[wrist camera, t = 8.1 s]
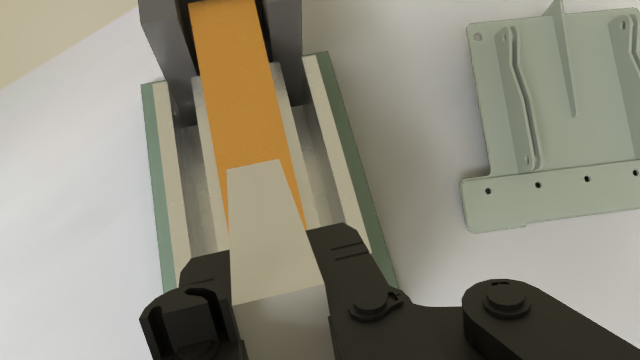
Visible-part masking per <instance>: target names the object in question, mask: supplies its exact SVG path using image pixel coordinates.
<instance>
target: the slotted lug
mask: <svg viewBox="0 0 640 360" xmlns="http://www.w3.org/2000/svg"><path fill="white" fill-rule="evenodd" d="M200 1H206V0H138V5H139V14H140V22H141V26H142V28H143V30H144V32H145V35H146V37H147V39H148V41H149V44H150V46H151V48H152V50H153V52H154V55H155V57H156V59H157V61H158V64H159V66H160V68H161V70H162V72H163V75H164V77H165V79H166V81H167V82H168V84H169V86H170V89H171V91H172V93H173V95H174V98H175V100H176V102H177V104H178V106H179V109H180V111H181V113H182V115H183V118H184V120H185V122H186V124H187V127H190V126H195V125H198V121H197V115H196V108H195V102H194V96H193V89H192V83H191V77H195V76H200V70H199V65H198V59H197V53H196V48H195V42H194V36H193V31H192V25H191V19H190V14H189V8H188V3H194V2H200ZM254 1H255V5H256V10H257V14H258V18H259V23H260V27H261V31H262V36H263V40H264V44H265V49H266V53H267V57H268V62H269V63H273V62H278V61H279V62H280V66H281V70H282V74H283V78H284V82H285V86H286V90H287V94H288V98H289V102H290V106H291V107H295V106H300V105H302V60H301V57H302V8H301V0H254Z"/></svg>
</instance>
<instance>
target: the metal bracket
mask: <svg viewBox="0 0 640 360" xmlns="http://www.w3.org/2000/svg"><path fill="white" fill-rule="evenodd" d="M466 32H467V37H468V43H469V49H470V55H471V61H472V66H473V72H474V78H475V84H476V90H477V95H478V101H479V107H480V113H481V119H482V124H483V130H484V136H485V142H486V147H487V153H488V159H489V165H490V173H489V175H488V176H482V177H474V178H466V179H463V180H461V181H460V191H461V198H462V204H463V210H464V216H465V222H466V226H467V229H468V230H469V231H470V232H472V233H475V234H476V233H483V232H491V231H498V230H506V229H513V228H521V227H525V226H526V224H528V223H533V222H541V221H548V220H556V219H564V218H571V217H579V216H586V215H594V214H602V213H609V212H617V211H625V210H632V209H640V12H639V10H638V9H637V8H623V9H613V10H602V11H592V12H582V13H572V14H564V8H563V1H562V0H554V1H553V3H552V4H551V5H550V6H549V8H548V9H547V10H546V12H545V13H544V14H543V15H542V16H541V17H531V18H521V19H510V20H500V21H490V22H480V23H471V24H469V25H468V27H467V29H466ZM475 34H479V35H480V36H481V41H476V40H475V39H474V35H475ZM634 170H635V171H636V172H637V175H636V176H635V175H633V171H634ZM585 176H587V177H588V178H589V181H588V182H586V181H585V179H584V177H585ZM536 182H538V183H539V184H540V187H539V188H537V187H536V186H535V183H536ZM486 188H489V189H490V194H486V192H485V190H486Z"/></svg>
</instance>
